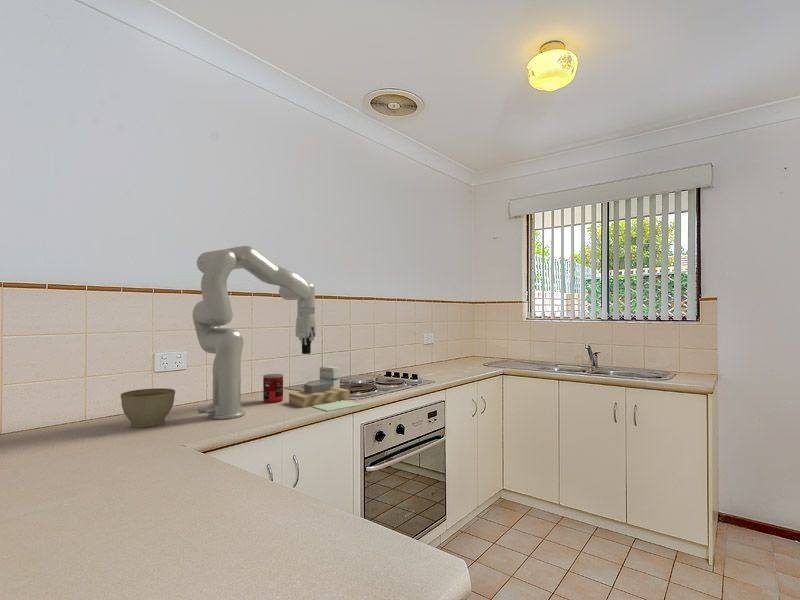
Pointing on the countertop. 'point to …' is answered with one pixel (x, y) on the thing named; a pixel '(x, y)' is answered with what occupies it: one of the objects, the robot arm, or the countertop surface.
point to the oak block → (318, 397)
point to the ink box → (330, 376)
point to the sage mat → (336, 405)
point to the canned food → (273, 388)
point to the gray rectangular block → (317, 387)
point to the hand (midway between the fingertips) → (306, 353)
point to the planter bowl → (147, 406)
